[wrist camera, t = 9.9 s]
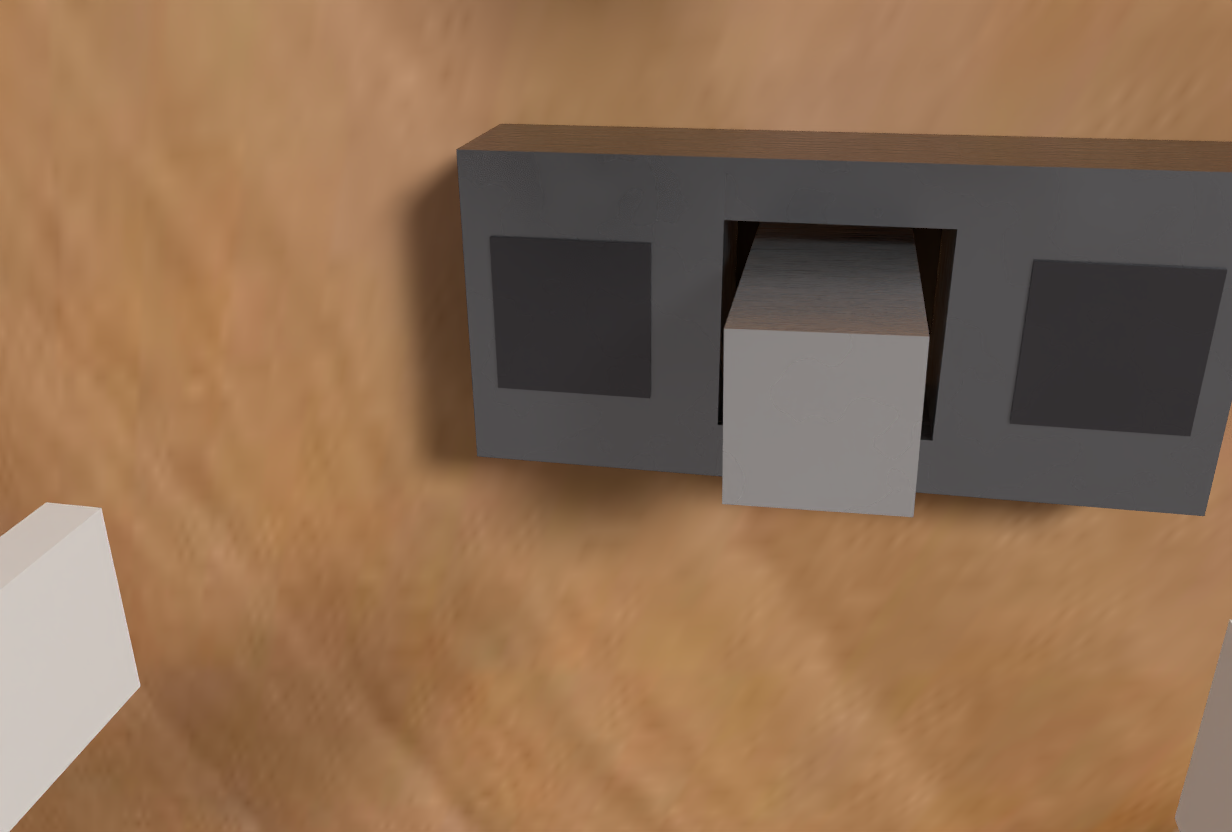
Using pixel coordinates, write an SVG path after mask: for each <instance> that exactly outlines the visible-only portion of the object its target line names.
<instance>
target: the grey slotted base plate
mask: <svg viewBox="0 0 1232 832" xmlns="http://www.w3.org/2000/svg"><path fill="white" fill-rule="evenodd" d="M456 150H457V165H458V179H459V194H460V209H461V223H462V238H463V253H464V268H465V282H466V297H467V312H468V327H469V341H470V356H471V371H472V385H473V400H474V415H475V430H476V444H477V456H480V457H492V458H504V459H517V460H529V461H541V462H553V463H565V464H577V465H589V466H602V467H614V468H626V469H638V470H650V471H662V472H675V473H687V474H699V475H711V476H723V381H724V327H725V324H726V321H727V318H728V315H729V312H730V309H731V306H732V303H733V301H734V298H735V288H736V260H737V232H738V221H761V222H786V223H811V224H836V225H862V226H887V227H912V228H937V229H942V237H941V246H940V255H939V264H938V273H937V282H936V290H935V299H934V308H933V317H932V326H931V335H930V344H929V353H928V361H927V371H926V382H925V393H924V404H923V415H922V426H921V438H920V449H919V460H918V471H917V482H916V492H918V493H930V494H942V495H954V496H966V497H978V498H991V499H1003V500H1015V501H1027V502H1039V503H1051V504H1064V505H1076V506H1088V507H1100V508H1112V509H1124V510H1136V511H1149V512H1161V513H1173V514H1185V515H1197V516H1205V511H1206V507H1207V503H1208V499H1209V495H1210V490H1211V486H1212V482H1213V478H1214V473H1215V469H1216V465H1217V461H1218V457H1219V452H1220V448H1221V444H1222V440H1223V435H1224V431H1225V427H1226V423H1227V418H1228V414H1229V410H1230V406H1231V402H1232V142H1214V141H1173V140H1133V139H1092V138H1052V137H1011V136H971V135H931V134H890V133H850V132H809V131H769V130H728V129H688V128H647V127H607V126H566V125H526V124H499V125H498V126H496V127H494V128H493V129H491V130H489V131H487V132H486V133H484V134H482V135H481V136H479V137H477V138H475V139H474V140H472V141H470V142H469V143H467V144H465V145H463V146H462V147H460V148H458V149H456Z"/></svg>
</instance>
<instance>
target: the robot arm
mask: <svg viewBox="0 0 1232 832" xmlns="http://www.w3.org/2000/svg"><path fill="white" fill-rule="evenodd" d="M139 687H140V682H139V677H138V673H137V668H136V663H135V659H134V654H133V650H132V645H131V641H130V636H129V632H128V627H127V623H126V618H125V614H124V609H123V605H122V600H121V595H120V591H119V586H118V582H117V577H116V573H115V568H114V564H113V559H112V555H111V550H110V546H109V541H108V536H107V532H106V527H105V523H104V518H103V514H102V509H101V508H97V507H87V506H77V505H67V504H57V503H47V502H46V503H45V504H43V505H42V506H41V507H39V508H38V509H37V510H35V511H34V512H33V513H31V514H30V515H29V516H27V517H26V518H25V519H23V520H22V521H21V522H19V523H18V524H17V525H15V526H14V527H13V528H11V529H10V530H9V531H7V532H6V533H5V534H3V535H2V536H1V537H0V832H9V831H10V830H11V829H12V828H13V827H14V826H15V825H16V824H17V823H18V822H19V820H20V819H21V818H22V817H23V816H24V815H25V814H26V813H27V812H28V810H29V809H30V808H31V807H32V806H33V805H34V804H35V803H36V802H37V800H38V799H39V798H40V797H41V796H42V795H43V794H44V793H45V792H46V790H47V789H48V788H49V787H50V786H51V785H52V784H53V783H54V782H55V780H56V779H57V778H58V777H59V776H60V775H61V774H62V773H63V772H64V770H65V769H66V768H67V767H68V766H69V765H70V764H71V763H72V762H73V760H74V759H75V758H76V757H77V756H78V755H79V754H80V753H81V752H82V750H83V749H84V748H85V747H86V746H87V745H88V744H89V743H90V742H91V740H92V739H93V738H94V737H95V736H96V735H97V734H98V733H99V732H100V730H101V729H102V728H103V727H104V726H105V725H106V724H107V723H108V722H109V721H110V719H111V718H112V717H113V716H114V715H115V714H116V713H117V712H118V711H119V709H120V708H121V707H122V706H123V705H124V704H125V703H126V702H127V701H128V699H129V698H130V697H131V696H132V695H133V694H134V693H135V692H136V691H137V689H138V688H139ZM1175 820H1176V822H1177V825H1178V828H1179V831H1180V832H1232V620H1229V623H1228V627H1227V631H1226V634H1225V638H1224V642H1223V645H1222V649H1221V652H1220V656H1219V660H1218V663H1217V667H1216V671H1215V674H1214V678H1213V681H1212V685H1211V689H1210V692H1209V696H1208V700H1207V703H1206V707H1205V710H1204V714H1203V718H1202V721H1201V725H1200V729H1199V732H1198V736H1197V739H1196V743H1195V747H1194V750H1193V754H1192V758H1191V761H1190V765H1189V768H1188V772H1187V776H1186V779H1185V783H1184V787H1183V790H1182V794H1181V797H1180V801H1179V805H1178V808H1177V812H1176V816H1175Z"/></svg>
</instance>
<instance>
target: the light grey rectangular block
mask: <svg viewBox="0 0 1232 832" xmlns="http://www.w3.org/2000/svg"><path fill="white" fill-rule="evenodd" d="M929 337H930V336H929V330H928V324H927V317H926V311H925V305H924V298H923V292H922V285H921V279H920V273H919V266H918V260H917V254H916V247H915V241H914V235H913V228H912V227H887V226H862V225H836V224H811V223H786V222H761V221H760V223H759V226H758V229H757V232H756V235H755V238H754V241H753V244H752V247H751V250H750V253H749V256H748V259H747V262H746V265H745V268H744V271H743V274H742V277H741V280H740V283H739V286H738V289H737V292H736V295H735V298H734V301H733V303H732V306H731V309H730V312H729V315H728V318H727V321H726V324H725V327H724V381H723V480H722V504H731V505H746V506H760V507H774V508H789V509H803V510H818V511H832V512H847V513H861V514H875V515H890V516H904V517H913V516H914V505H915V493H916V482H917V471H918V460H919V449H920V438H921V426H922V415H923V404H924V393H925V382H926V371H927V359H928V348H929Z"/></svg>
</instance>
